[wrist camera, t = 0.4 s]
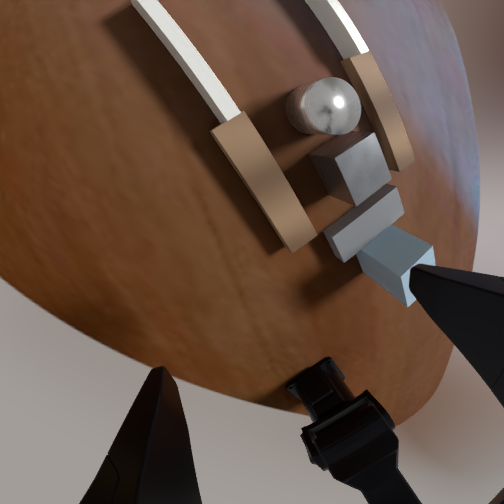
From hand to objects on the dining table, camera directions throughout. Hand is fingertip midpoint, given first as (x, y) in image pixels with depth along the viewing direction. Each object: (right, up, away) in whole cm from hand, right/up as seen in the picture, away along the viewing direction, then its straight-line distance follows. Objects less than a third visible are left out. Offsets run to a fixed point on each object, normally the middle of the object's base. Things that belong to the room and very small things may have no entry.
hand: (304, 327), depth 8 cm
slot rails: (+4, +11, +12) cm, 17 cm away
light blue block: (+10, +4, +17) cm, 20 cm away
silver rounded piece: (+3, +13, +11) cm, 17 cm away
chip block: (+5, +10, +13) cm, 17 cm away
